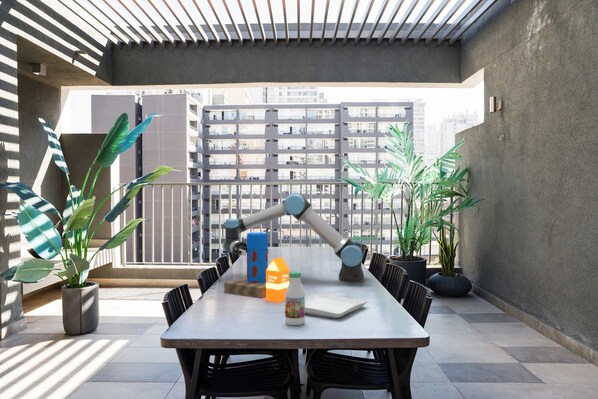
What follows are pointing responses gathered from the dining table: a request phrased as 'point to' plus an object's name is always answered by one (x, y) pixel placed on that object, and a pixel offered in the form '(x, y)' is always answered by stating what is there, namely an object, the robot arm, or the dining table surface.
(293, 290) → the milk bottle
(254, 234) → the thermos
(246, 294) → the walnut riser
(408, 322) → the dining table surface
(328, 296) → the square plate
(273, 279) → the orange juice
